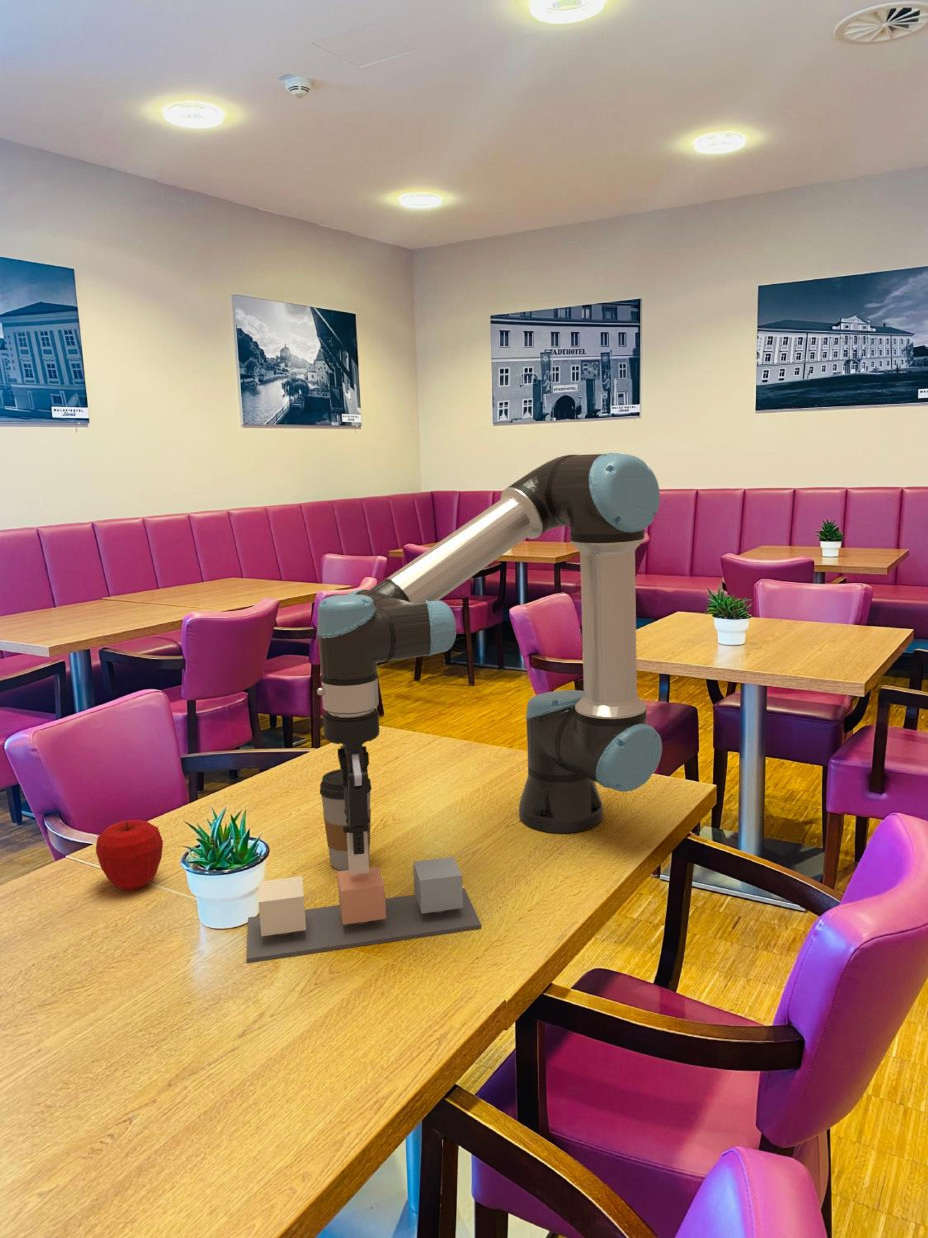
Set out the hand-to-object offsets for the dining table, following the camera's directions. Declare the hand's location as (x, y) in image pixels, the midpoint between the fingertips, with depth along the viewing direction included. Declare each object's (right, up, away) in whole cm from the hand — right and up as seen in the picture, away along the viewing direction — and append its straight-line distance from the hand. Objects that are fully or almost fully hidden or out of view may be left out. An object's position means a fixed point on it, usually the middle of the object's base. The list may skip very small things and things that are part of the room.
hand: (359, 871), depth 124 cm
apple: (-38, -7, +16) cm, 41 cm away
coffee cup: (-4, -5, +21) cm, 22 cm away
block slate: (+11, -5, +3) cm, 13 cm away
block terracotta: (0, -6, +1) cm, 6 cm away
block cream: (-10, -7, -1) cm, 12 cm away
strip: (0, -8, +2) cm, 8 cm away
